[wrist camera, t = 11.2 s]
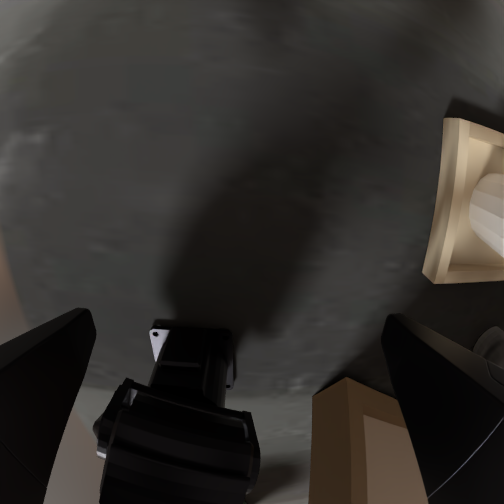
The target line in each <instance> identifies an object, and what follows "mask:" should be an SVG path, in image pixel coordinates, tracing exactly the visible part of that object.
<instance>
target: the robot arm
mask: <svg viewBox="0 0 504 504" xmlns="http://www.w3.org/2000/svg"><path fill="white" fill-rule="evenodd" d="M155 332H157V333H158V334H156V333H155ZM224 335H227V336H228V337H224ZM150 338H151V343H152V347H153V352H154V356H155V361H156V364H155V366H154V369H153V372H152V375H151V378H150V381H149V384H148V386H145V385H142V384H139V383H136V382H134V380H132V379H129V378H126V379H125V380H124V382H123V384H122V385H119V387H118V389H117V390H116V391H115V393H114V395H113V397H112V399H111V401H110V403H109V404H108V406H107V408H106V410H105V411H104V413H103V414H102V415H101V416H100V417H99V418H98V419H97V420H96V421H95V423H94V425H93V432H94V434H95V435H96V437H97V456H98V458H101V459H104V460H105V465H104V469H103V475H102V480H101V485H100V500H99V503H100V504H243V502H244V499H245V495H246V494H248V493H250V492H251V491H252V489H253V487H254V486H255V483H256V481H257V477H258V474H259V468H260V448H259V443H258V440H257V436H256V431H255V427H254V423H253V419H252V415H251V412H247V411H242V412H241V411H236V410H231V409H227V408H225V394H226V390H230V389H232V388H233V385H234V380H233V340H232V332H231V331H229V330H226V329H203V328H182V327H161V326H153V327H152V328H151V330H150ZM95 340H96V328H95V325H94V322H93V318H92V314H91V312H90V310H89V309H86V308H75V309H73V310H71V311H69V312H67V313H65V314H63V315H61V316H59V317H57V318H55V319H53V320H50V321H48V322H46V323H44V324H42V325H40V326H38V327H36V328H34V329H32V330H30V331H28V332H26V333H24V334H22V335H20V336H18V337H16V338H14V339H12V340H10V341H8V342H6V343H4V344H2V345H0V504H43V502H44V497H45V494H46V490H47V488H46V487H47V485H48V482H49V478H50V475H51V471H52V468H53V464H54V461H55V457H56V454H57V451H58V448H59V445H60V442H61V439H62V436H63V433H64V430H65V427H66V424H67V421H68V418H69V416H70V413H71V410H72V407H73V405H74V402H75V399H76V397H77V394H78V392H79V389H80V387H81V384H82V381H83V379H84V376H85V373H86V370H87V366H88V363H89V359H90V356H91V353H92V349H93V346H94V343H95ZM381 344H382V348H383V352H384V356H385V360H386V364H387V368H388V372H389V376H390V379H391V383H392V386H393V389H394V392H395V395H396V398H397V400H398V403H399V406H400V409H401V412H402V415H403V418H404V421H405V424H406V427H407V430H408V433H409V436H410V439H411V443H412V446H413V449H414V452H415V456H416V459H417V462H418V466H419V469H420V473H421V477H422V480H423V484H424V488H425V492H426V496H427V498H428V499H427V500H428V504H504V369H503V368H501V367H499V366H497V365H495V364H493V363H492V362H490V361H488V360H487V361H486V359H484V358H482V357H481V356H479V355H477V354H475V353H473V352H471V351H470V350H468V349H466V348H464V347H462V346H461V345H459V344H457V343H455V342H453V341H451V340H450V339H448V338H446V337H444V336H442V335H440V334H438V333H437V332H435V331H433V330H431V329H429V328H427V327H425V326H424V325H422V324H420V323H418V322H416V321H414V320H412V319H411V318H409V317H407V316H405V315H403V314H401V313H397V314H389V315H388V316H387V319H386V322H385V325H384V329H383V332H382V336H381ZM226 384H229V385H226Z"/></svg>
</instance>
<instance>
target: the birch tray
mask: <svg viewBox="0 0 504 504" xmlns="http://www.w3.org/2000/svg"><path fill="white" fill-rule="evenodd" d="M491 173H498V174H504V134H503V133H500V132H498V131H495V130H492V129H490V128H487V127H484V126H481V125H479V124H476V123H473V122H470V121H467V120H464V119H460V118H444V119H443V140H442V154H441V165H440V175H439V183H438V191H437V198H436V205H435V211H434V217H433V223H432V228H431V233H430V238H429V243H428V248H427V253H426V257H425V261H424V266H423V270H422V273H423V274H424V275H425V276H426V277H427V278H428V279H429V280H430V281H431V282H432V283H433V284H447V283H467V282H485V281H500V280H504V258H503V257H502V256H501V255H499V254H498V253H497V252H496V251H495V250H494V249H492V248H491V247H490V246H489V245H488V244H486V243H485V242H484V241H483V240H481V239H480V238H479V237H478V236H477V235H476V234H475V232H474V231H473V229H472V228H471V223H470V219H469V206H470V200H471V197H472V194H473V190H474V188H475V187H476V185H477V184H478V182H479V181H480V179H481V178H483V177H484V176H486V175H487V174H491Z"/></svg>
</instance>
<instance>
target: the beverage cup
mask: <svg viewBox="0 0 504 504" xmlns="http://www.w3.org/2000/svg"><path fill="white" fill-rule="evenodd" d="M473 353H475V354H477V355H479V356H481V357H482V358H484V359H486V361H487V360H488V361H490V362H492V363H493V364H495V365H497V366H499V367H501V368H503V369H504V331H503V330H501V329H500V328H499V327H497V326H494V327H491V328H490V329H488V330H487V331H485V332H484V333H483V334H482V335H481V337H480V338H479V339H478V340H477V342H476V344H475V346H474V348H473Z"/></svg>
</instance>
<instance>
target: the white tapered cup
mask: <svg viewBox="0 0 504 504" xmlns="http://www.w3.org/2000/svg"><path fill="white" fill-rule="evenodd" d="M469 219H470V223H471V228H472V229H473V231H474V232H475V234H476V235H477V236H478V237H479V238H480V239H481V240H483V241H484V242H485V243H486V244H488V245H489V246H490V247H491V248H492V249H494V250H495V251H496V252H497V253H498V254H499V255H501V256H502V257H503V258H504V174H498V173H491V174H487V175H486V176H484V177H483V178H481V179H480V181H479V182H478V184H477V185H476V187H475V188H474V190H473V194H472V197H471V200H470V206H469Z"/></svg>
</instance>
